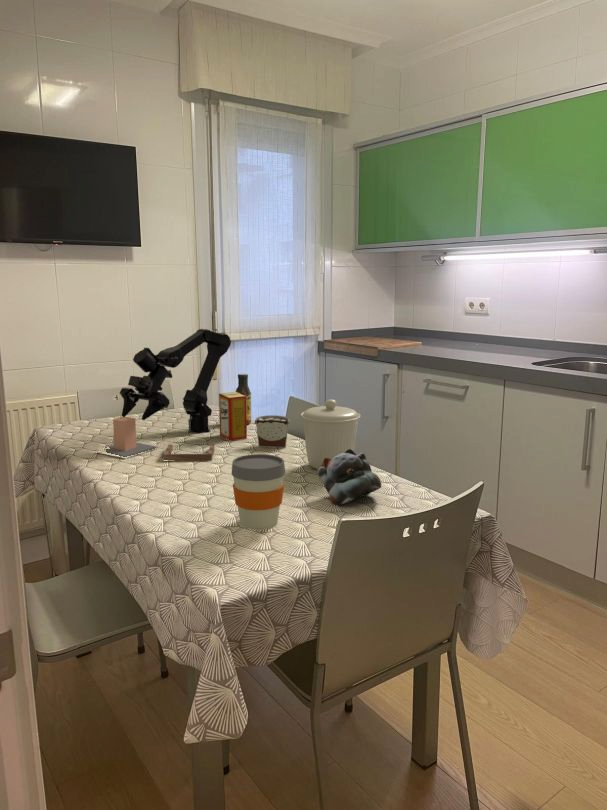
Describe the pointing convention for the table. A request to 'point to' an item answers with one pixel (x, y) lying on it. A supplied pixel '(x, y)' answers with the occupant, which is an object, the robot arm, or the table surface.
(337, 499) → the grey stuffed animal
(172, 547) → the table surface
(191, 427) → the robot arm
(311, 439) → the canister
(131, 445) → the terracotta block
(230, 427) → the baking soda box
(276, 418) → the food container
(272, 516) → the reusable coffee cup
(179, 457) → the walnut bay
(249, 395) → the sauce bottle
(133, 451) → the rubber mat
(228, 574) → the table surface
